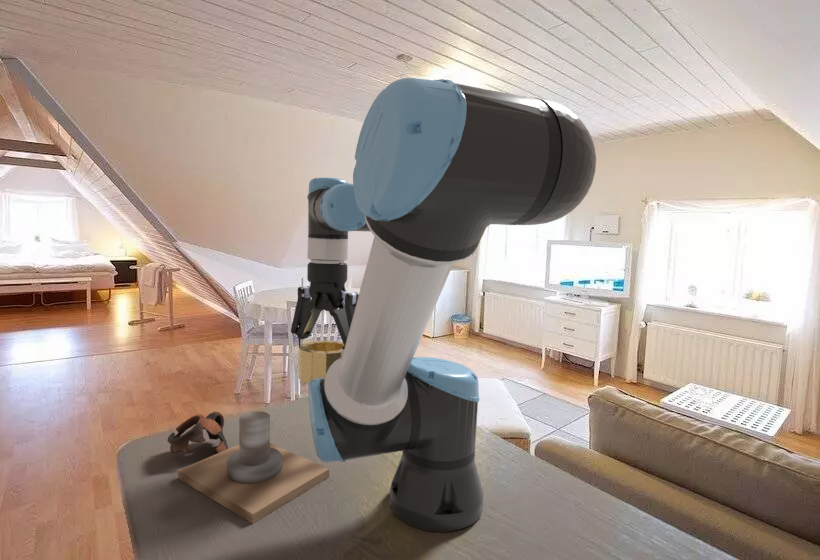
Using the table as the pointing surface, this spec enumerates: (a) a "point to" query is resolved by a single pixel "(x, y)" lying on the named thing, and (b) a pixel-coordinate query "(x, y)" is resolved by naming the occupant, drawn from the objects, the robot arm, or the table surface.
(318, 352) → the brass ring
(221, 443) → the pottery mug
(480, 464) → the table surface
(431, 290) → the robot arm
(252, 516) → the stand
